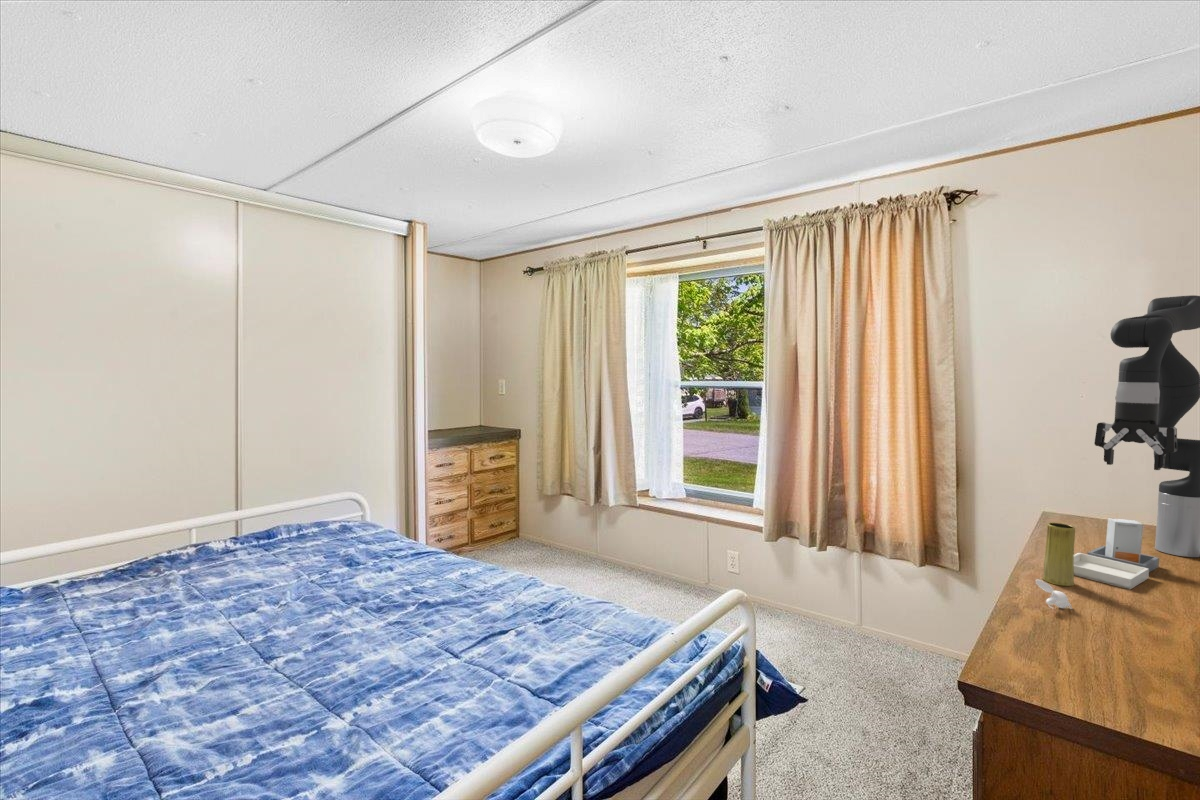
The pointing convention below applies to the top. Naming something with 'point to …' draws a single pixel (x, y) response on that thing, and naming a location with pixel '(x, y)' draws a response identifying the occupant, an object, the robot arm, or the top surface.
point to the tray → (1109, 571)
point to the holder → (1145, 561)
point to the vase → (1059, 555)
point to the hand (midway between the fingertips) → (1132, 467)
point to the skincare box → (1124, 539)
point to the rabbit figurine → (1054, 596)
